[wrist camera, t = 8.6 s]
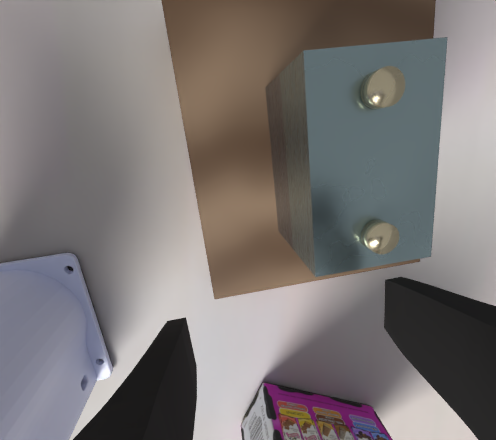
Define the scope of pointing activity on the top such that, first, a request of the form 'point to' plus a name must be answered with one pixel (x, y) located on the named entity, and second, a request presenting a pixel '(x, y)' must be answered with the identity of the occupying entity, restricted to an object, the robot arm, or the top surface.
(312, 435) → the candy bar box
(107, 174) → the top surface
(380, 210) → the housing
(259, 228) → the stand
